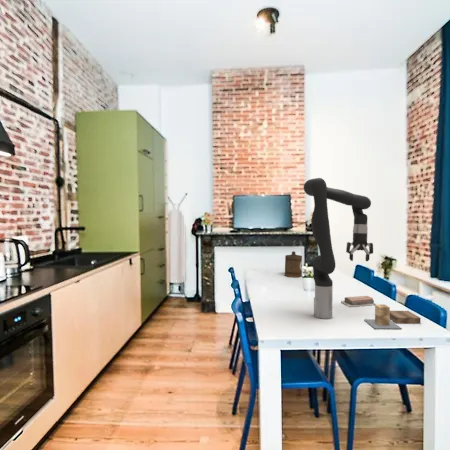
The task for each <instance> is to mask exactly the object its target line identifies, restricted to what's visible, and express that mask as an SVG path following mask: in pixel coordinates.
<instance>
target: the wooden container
mask: <svg viewBox="0 0 450 450" xmlns="http://www.w3.org/2000/svg"><path fill="white" fill-rule="evenodd" d="M284 257H285V258H284V260H285V261H284V262H285V263H284V276H285V277H287V278H301V277H302V276H303V256H302V255H299V254H296V251H294V250H293V251H291V254H286V255H285V256H284Z"/></svg>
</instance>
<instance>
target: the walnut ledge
mask: <svg viewBox="0 0 450 450" xmlns="http://www.w3.org/2000/svg"><path fill="white" fill-rule="evenodd" d="M390 320H391V321H392V322H394V323H395V324H396V325H398V324H399V325H400V324H401V325H403V324H405V325H406V324H409V325H410V324H411V325H412V324H413V325H414V324H415V325H416V324H418V325H419V324H420V325H421V317H420V316H418V315H416V314H415V313H413V312H411V311H409V310H390Z"/></svg>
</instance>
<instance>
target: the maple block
mask: <svg viewBox="0 0 450 450" xmlns="http://www.w3.org/2000/svg"><path fill="white" fill-rule="evenodd" d="M390 311H391V310H390V306H388V305H386V304H376V305H374V319H375V322H376V323H377V324H378V325H389V321H390V320H391V319H390Z"/></svg>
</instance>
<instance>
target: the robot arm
mask: <svg viewBox="0 0 450 450" xmlns="http://www.w3.org/2000/svg"><path fill="white" fill-rule="evenodd" d="M303 191H304V193H305V194H306V195H308V196H310V197H313V202H314V207H313V212H312V215H311V220H310V224H311V232H312V235H313V238H314V240H315V242H316V244H317V247H318V249H319V255H317V256H315V258H314V259H313V262H312V273H313V274H312V275H313V281H314V297H313V315H314V317H315V318H317V319H319V318H320V319H324V320H325V319H326V320H327V319H332V318H333V288H334V287H333V280H332V279H331V277H330V274H333V273H334V272H335V270H336V259H335V255H334V251H333V245H332V237H331V229H330V219H329V211H328V200H330V201H333V202H334V201H335V202H337V203H340V204H342V205H345V206H351V209H352V215H353V227H352V242H349V241H347V242H346V249H345V252H346V253H347V254H349V255H348V256H349V257H348V259H349V260H350V261H352V262H353V261H354V253H355V252H356V251H364V252H365V262H369V261H370V255H372V254H374V243H373V242H368V215H367V214H366V213H364V211H363V210H368V209H370V207H371V205H372V201H371V199H370V198H369V197H368V196H365V195H360V194H356V193H352V192H349V191H347V190H343V189H339V188H333V187H328V186H327V183H326V180H325V179H323V178H322V177H317V178H316V177H315V178H312V179H308V180H307V181H305V182H304V183H303ZM351 247H352V248H351ZM367 247H368V248H367Z"/></svg>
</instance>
